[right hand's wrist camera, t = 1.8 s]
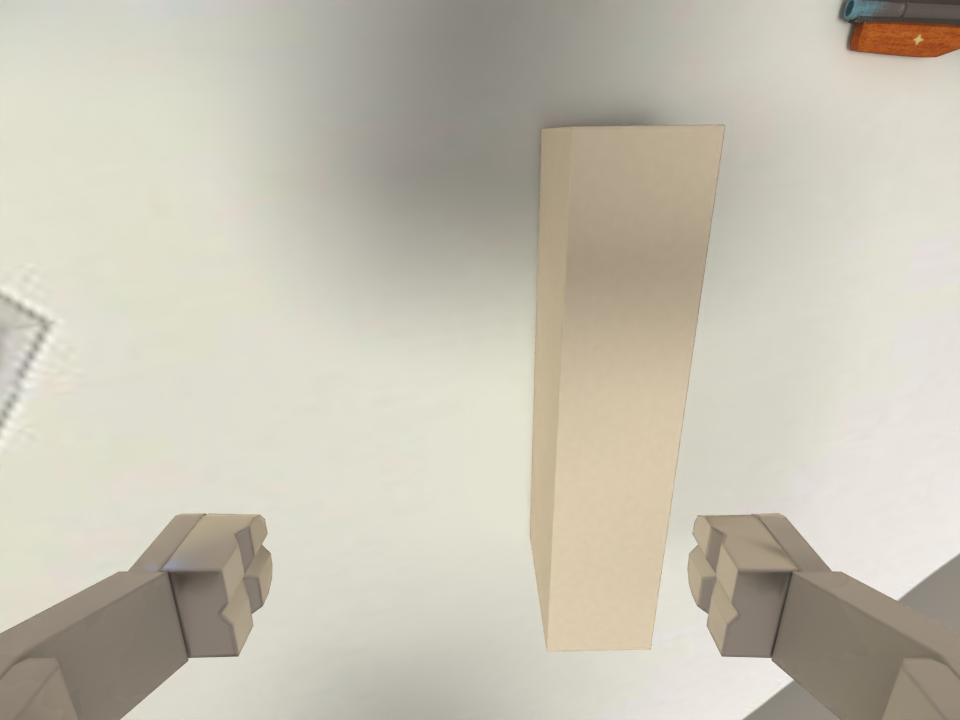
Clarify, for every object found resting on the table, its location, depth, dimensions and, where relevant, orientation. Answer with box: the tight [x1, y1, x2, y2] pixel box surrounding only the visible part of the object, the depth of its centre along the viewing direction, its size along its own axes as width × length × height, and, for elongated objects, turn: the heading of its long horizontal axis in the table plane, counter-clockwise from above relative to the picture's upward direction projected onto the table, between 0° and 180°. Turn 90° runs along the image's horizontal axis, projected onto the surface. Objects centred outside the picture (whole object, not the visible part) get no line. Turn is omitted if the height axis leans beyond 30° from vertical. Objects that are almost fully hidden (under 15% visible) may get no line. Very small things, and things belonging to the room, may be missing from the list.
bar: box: [530, 125, 725, 652], centre depth 28 cm, size 25×5×9 cm, turn 1°
